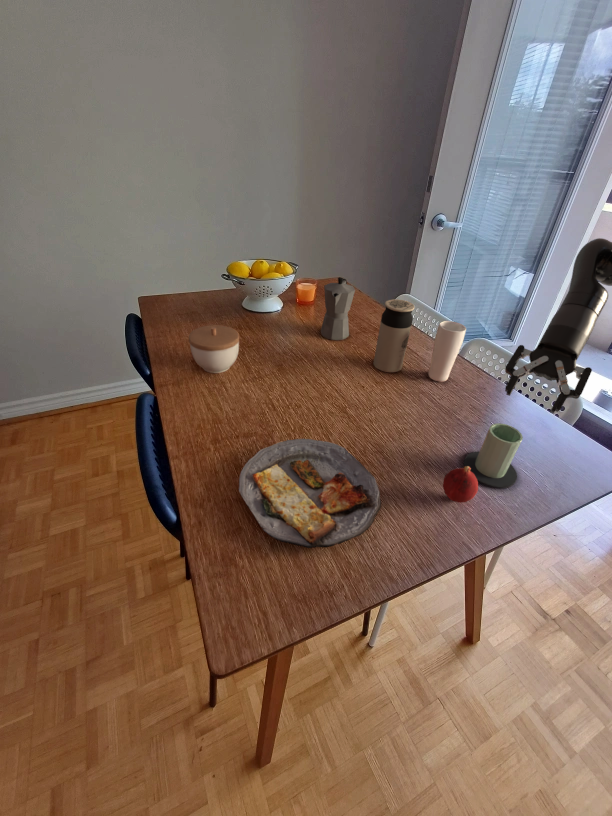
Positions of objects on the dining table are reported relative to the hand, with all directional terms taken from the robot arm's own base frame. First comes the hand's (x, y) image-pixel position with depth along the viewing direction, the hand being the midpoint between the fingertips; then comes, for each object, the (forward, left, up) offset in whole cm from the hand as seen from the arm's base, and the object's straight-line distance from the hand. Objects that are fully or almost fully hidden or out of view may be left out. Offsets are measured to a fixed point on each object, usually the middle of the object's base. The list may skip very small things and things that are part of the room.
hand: (529, 403), depth 80 cm
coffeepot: (+26, -57, -11) cm, 64 cm away
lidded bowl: (+63, -38, -11) cm, 74 cm away
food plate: (+46, +9, -11) cm, 48 cm away
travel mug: (+16, -35, -11) cm, 40 cm away
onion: (+20, +13, -11) cm, 26 cm away
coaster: (+9, +7, -11) cm, 16 cm away
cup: (+9, +7, -11) cm, 15 cm away
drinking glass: (+4, -28, -11) cm, 31 cm away
